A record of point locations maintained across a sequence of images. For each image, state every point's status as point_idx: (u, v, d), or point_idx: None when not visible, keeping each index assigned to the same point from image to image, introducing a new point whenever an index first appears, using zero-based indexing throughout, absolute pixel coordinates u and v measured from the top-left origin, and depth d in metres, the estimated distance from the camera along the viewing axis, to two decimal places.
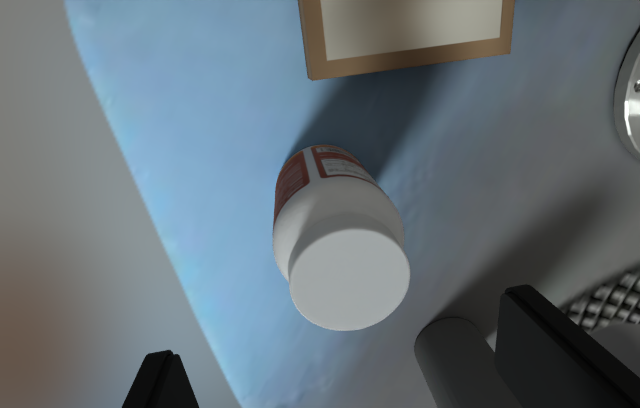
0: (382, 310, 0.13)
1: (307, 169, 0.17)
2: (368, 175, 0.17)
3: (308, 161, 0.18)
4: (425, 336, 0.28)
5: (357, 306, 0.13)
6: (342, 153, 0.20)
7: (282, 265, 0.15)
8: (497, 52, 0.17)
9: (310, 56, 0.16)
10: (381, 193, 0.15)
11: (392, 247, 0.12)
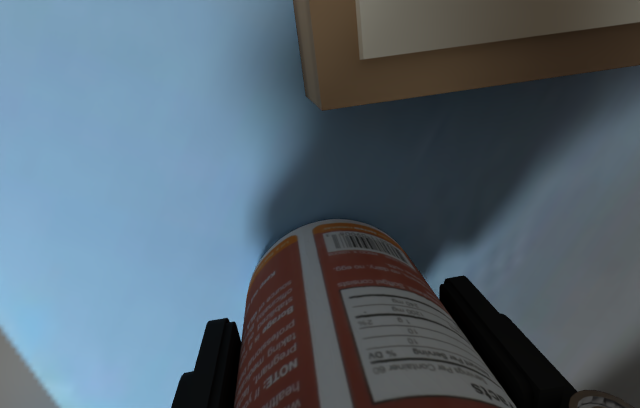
0: None
1: (310, 328, 0.07)
2: (457, 336, 0.07)
3: (311, 286, 0.08)
4: None
5: None
6: (378, 250, 0.10)
7: None
8: None
9: (316, 48, 0.06)
10: None
11: None
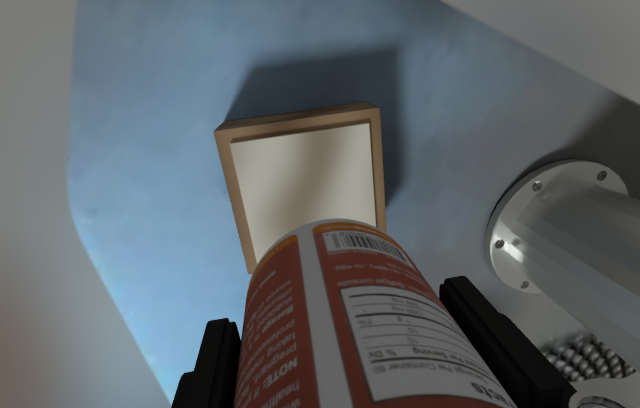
0: None
1: (310, 327, 0.07)
2: (457, 335, 0.07)
3: (310, 286, 0.08)
4: None
5: None
6: (378, 249, 0.10)
7: None
8: None
9: (245, 260, 0.23)
10: None
11: None
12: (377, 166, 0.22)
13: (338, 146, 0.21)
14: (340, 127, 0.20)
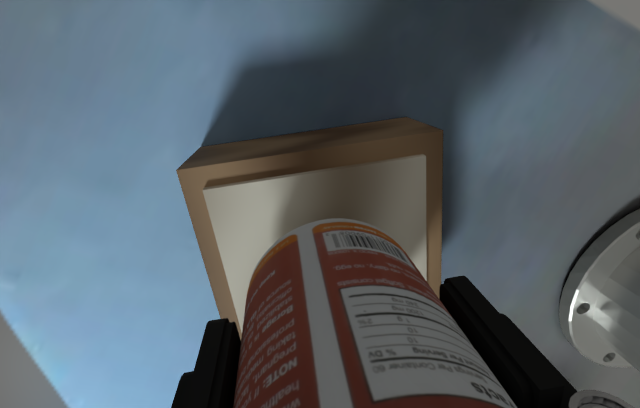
0: None
1: (310, 327, 0.07)
2: (457, 335, 0.07)
3: (310, 286, 0.08)
4: None
5: None
6: (378, 249, 0.10)
7: None
8: None
9: None
10: None
11: None
12: (433, 219, 0.14)
13: (376, 191, 0.13)
14: (380, 162, 0.13)
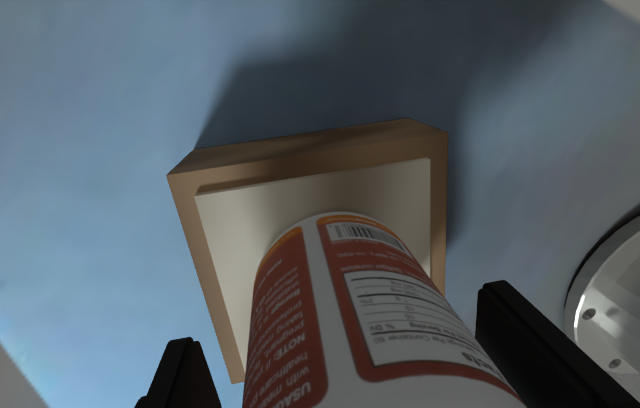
0: None
1: (316, 307, 0.07)
2: (451, 314, 0.08)
3: (315, 271, 0.09)
4: None
5: None
6: (378, 239, 0.10)
7: None
8: None
9: (227, 366, 0.15)
10: None
11: None
12: (437, 225, 0.13)
13: (377, 196, 0.12)
14: (382, 166, 0.12)
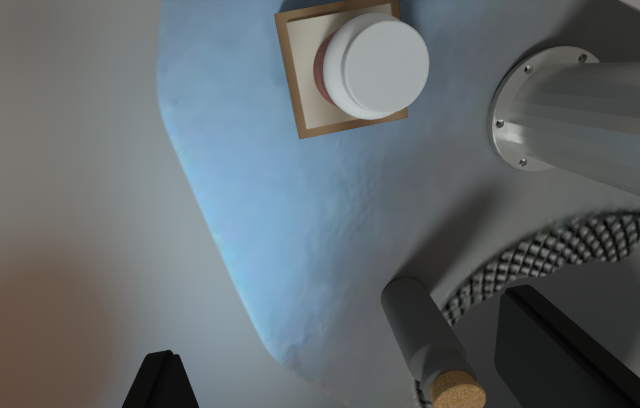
0: (410, 94, 0.18)
1: None
2: None
3: None
4: (387, 290, 0.41)
5: (392, 90, 0.18)
6: None
7: (332, 82, 0.20)
8: (400, 117, 0.30)
9: (297, 127, 0.30)
10: None
11: (415, 37, 0.17)
12: None
13: None
14: (368, 7, 0.27)
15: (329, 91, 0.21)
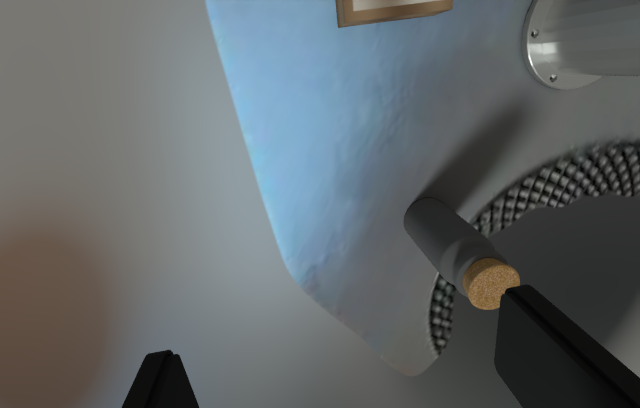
0: None
1: None
2: None
3: None
4: (411, 209, 0.42)
5: None
6: None
7: None
8: (445, 8, 0.31)
9: (344, 8, 0.30)
10: None
11: None
12: None
13: None
14: None
15: None
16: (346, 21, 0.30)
